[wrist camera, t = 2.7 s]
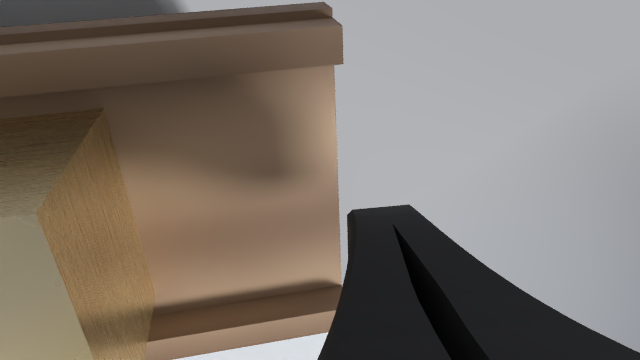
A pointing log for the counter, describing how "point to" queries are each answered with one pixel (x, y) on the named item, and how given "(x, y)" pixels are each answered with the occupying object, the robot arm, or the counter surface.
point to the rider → (68, 244)
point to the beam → (209, 158)
